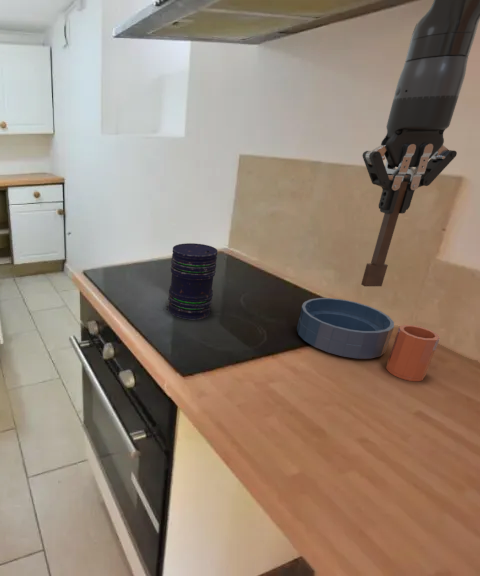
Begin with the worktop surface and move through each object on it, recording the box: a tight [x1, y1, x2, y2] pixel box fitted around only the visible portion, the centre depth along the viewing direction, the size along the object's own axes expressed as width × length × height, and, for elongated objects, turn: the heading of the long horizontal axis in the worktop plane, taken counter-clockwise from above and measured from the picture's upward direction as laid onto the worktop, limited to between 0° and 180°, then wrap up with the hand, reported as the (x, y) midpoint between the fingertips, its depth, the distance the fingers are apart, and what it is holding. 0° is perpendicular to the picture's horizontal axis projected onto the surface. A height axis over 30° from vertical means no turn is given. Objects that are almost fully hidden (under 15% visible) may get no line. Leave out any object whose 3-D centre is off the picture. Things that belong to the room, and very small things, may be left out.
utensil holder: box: [385, 324, 441, 382], centre depth 64 cm, size 5×5×8 cm
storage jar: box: [167, 242, 219, 321], centre depth 86 cm, size 10×10×15 cm
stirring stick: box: [361, 181, 408, 287], centre depth 64 cm, size 3×1×18 cm, turn 89°
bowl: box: [296, 297, 395, 360], centre depth 75 cm, size 15×15×6 cm
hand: (392, 212), depth 63 cm, fingers closed on stirring stick, 1 cm apart
